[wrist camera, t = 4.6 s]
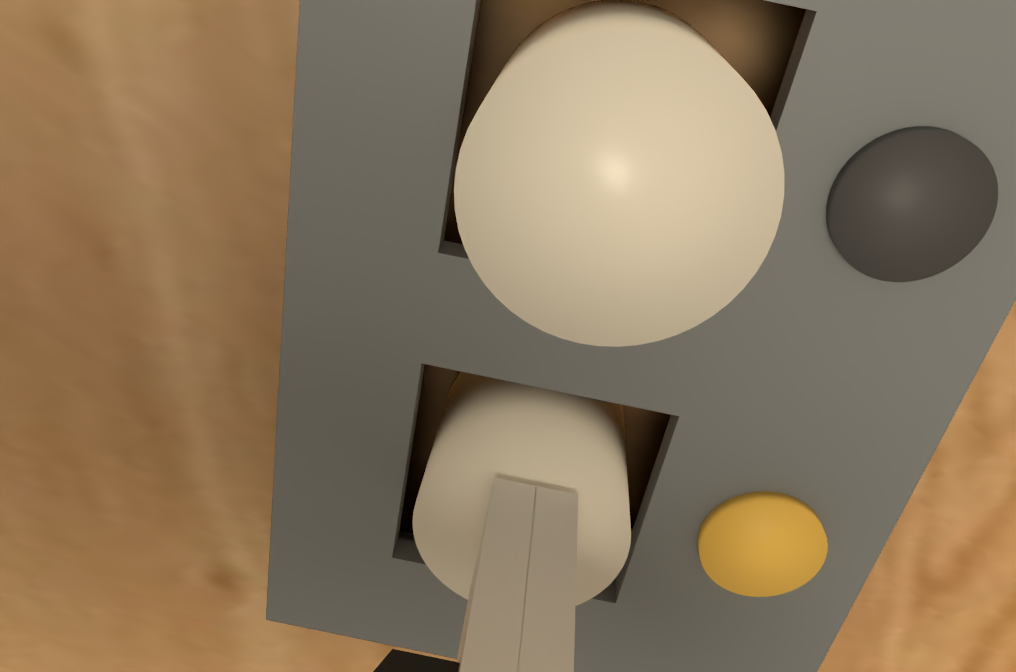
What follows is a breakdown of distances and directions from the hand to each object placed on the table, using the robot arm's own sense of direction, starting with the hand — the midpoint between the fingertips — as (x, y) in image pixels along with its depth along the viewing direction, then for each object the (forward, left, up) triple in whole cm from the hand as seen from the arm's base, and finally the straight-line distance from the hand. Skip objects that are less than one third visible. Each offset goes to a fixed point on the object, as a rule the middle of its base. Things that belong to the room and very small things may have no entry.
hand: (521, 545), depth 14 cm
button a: (0, 0, -4) cm, 4 cm away
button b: (0, +7, -2) cm, 7 cm away
